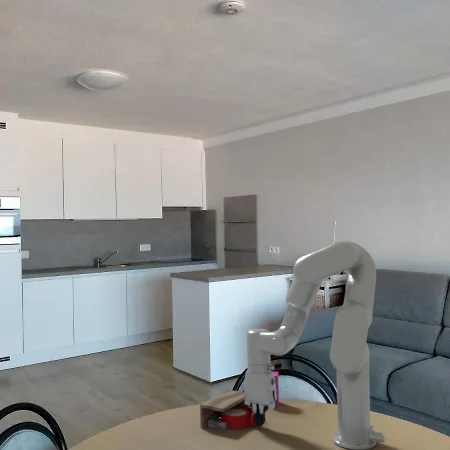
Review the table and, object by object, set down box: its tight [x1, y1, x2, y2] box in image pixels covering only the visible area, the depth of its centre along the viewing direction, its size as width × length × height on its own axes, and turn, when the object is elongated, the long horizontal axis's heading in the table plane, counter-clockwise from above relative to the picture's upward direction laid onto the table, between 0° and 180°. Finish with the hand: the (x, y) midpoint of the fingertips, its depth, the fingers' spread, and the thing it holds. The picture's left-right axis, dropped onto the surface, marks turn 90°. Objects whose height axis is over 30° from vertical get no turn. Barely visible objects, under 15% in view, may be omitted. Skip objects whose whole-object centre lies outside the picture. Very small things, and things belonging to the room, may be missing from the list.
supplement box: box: [272, 371, 280, 407], centre depth 180 cm, size 6×6×12 cm
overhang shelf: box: [199, 389, 250, 431], centre depth 163 cm, size 9×18×8 cm, turn 149°
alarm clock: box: [217, 407, 256, 429], centre depth 161 cm, size 10×6×15 cm
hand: (260, 424), depth 157 cm, fingers closed
